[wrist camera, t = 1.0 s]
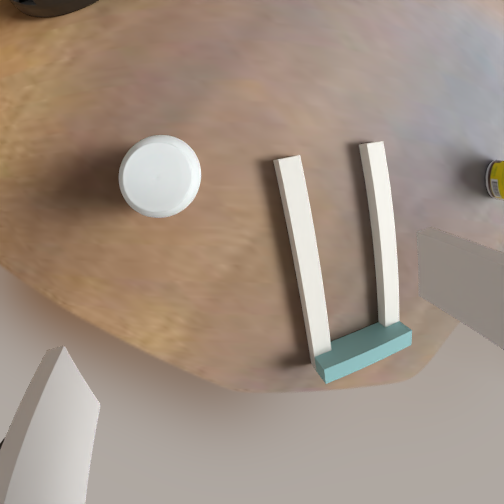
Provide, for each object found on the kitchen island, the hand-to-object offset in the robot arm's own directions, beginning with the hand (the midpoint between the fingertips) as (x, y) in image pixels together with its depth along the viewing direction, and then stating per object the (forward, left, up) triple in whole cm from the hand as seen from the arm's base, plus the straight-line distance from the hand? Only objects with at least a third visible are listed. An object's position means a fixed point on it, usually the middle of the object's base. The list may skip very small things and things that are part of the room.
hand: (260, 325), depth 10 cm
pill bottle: (-5, -2, -19) cm, 20 cm away
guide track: (+7, +13, -19) cm, 23 cm away
